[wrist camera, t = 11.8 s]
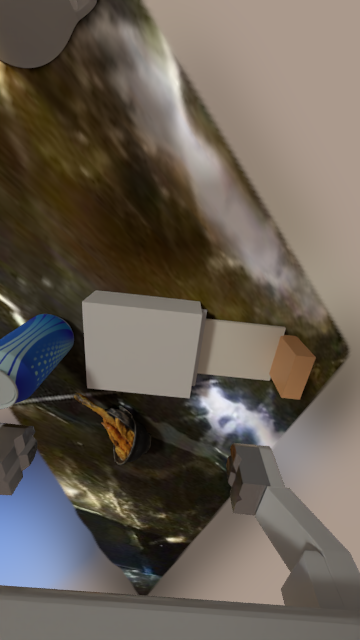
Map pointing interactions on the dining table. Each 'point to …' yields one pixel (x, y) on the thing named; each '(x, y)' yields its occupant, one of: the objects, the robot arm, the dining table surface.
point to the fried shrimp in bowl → (122, 432)
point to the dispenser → (142, 343)
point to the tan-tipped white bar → (256, 355)
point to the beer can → (31, 356)
